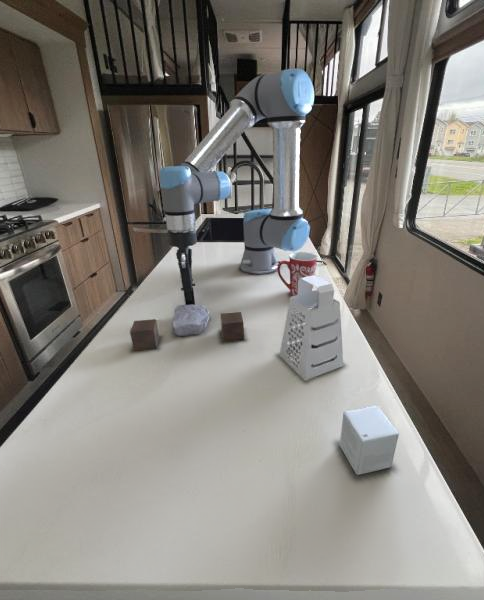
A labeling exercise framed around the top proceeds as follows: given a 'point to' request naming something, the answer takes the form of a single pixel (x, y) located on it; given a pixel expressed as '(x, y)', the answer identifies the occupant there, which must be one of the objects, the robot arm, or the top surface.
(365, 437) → the product box
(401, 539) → the top surface
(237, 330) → the walnut block
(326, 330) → the grater
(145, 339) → the walnut block
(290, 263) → the mug
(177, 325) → the stone block
